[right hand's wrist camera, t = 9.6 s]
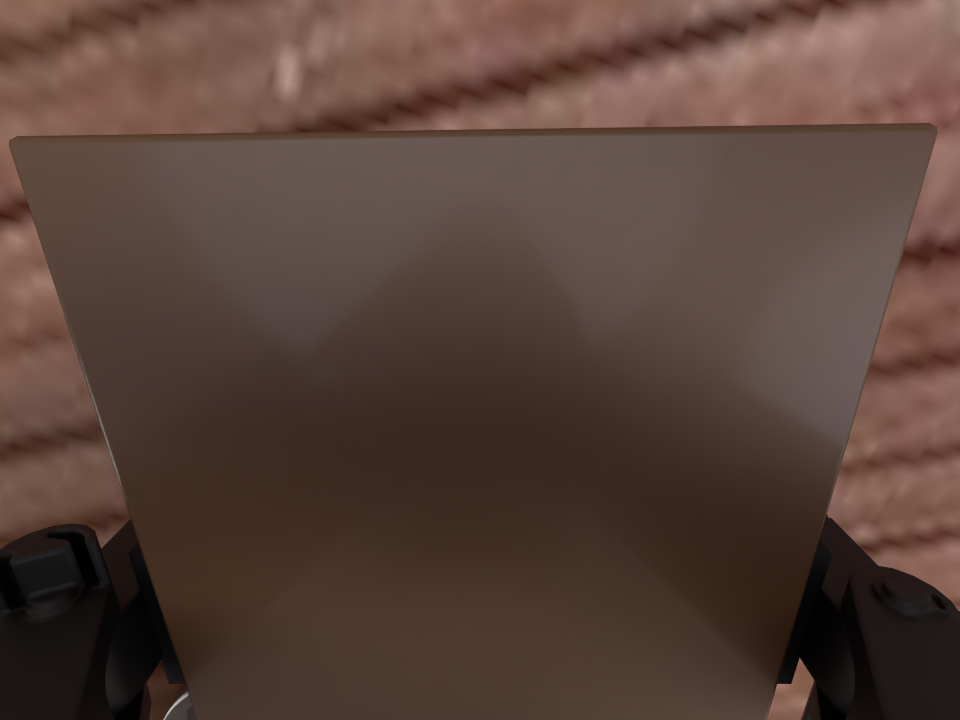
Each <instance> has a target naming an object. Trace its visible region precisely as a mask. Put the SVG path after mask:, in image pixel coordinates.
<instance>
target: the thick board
mask: <svg viewBox="0 0 960 720" xmlns="http://www.w3.org/2000/svg"><path fill="white" fill-rule="evenodd" d="M937 133H938V131H937V127H936V126H934V125H932V124H930V123H903V124H835V125H766V126H697V127H628V128H559V129H491V130H422V131H353V132H284V133H215V134H147V135H78V136H17V137H15V138H13V139H11V140H9V147H10V150H11V153H12V156H13V159H14V162H15V165H16V168H17V171H18V175H19V178H20V181H21V184H22V187H23V190H24V193H25V196H26V199H27V202H28V205H29V208H30V211H31V214H32V217H33V220H34V223H35V227H36V230H37V233H38V236H39V239H40V242H41V245H42V248H43V251H44V254H45V257H46V260H47V263H48V266H49V269H50V272H51V275H52V279H53V282H54V285H55V288H56V291H57V294H58V297H59V300H60V303H61V306H62V309H63V312H64V315H65V318H66V321H67V324H68V328H69V331H70V334H71V337H72V340H73V343H74V346H75V349H76V352H77V355H78V358H79V361H80V364H81V367H82V370H83V373H84V376H85V380H86V383H87V386H88V389H89V392H90V395H91V398H92V401H93V404H94V407H95V410H96V413H97V416H98V419H99V422H100V425H101V428H102V432H103V435H104V438H105V441H106V444H107V447H108V450H109V453H110V456H111V459H112V462H113V465H114V468H115V471H116V474H117V477H118V481H119V484H120V487H121V490H122V493H123V496H124V499H125V502H126V505H127V508H128V511H129V514H130V517H131V520H132V523H133V526H134V529H135V533H136V536H137V539H138V542H139V545H140V548H141V551H142V554H143V557H144V560H145V563H146V566H147V569H148V572H149V575H150V578H151V581H152V585H153V588H154V591H155V594H156V597H157V600H158V603H159V606H160V609H161V612H162V615H163V618H164V621H165V624H166V627H167V630H168V634H169V637H170V640H171V643H172V646H173V649H174V652H175V655H176V658H177V661H178V664H179V667H180V670H181V673H182V676H183V679H184V682H185V686H186V689H187V692H188V695H189V698H190V701H191V704H192V707H193V710H194V713H195V716H196V719H197V720H767V717H768V713H769V710H770V706H771V703H772V700H773V696H774V693H775V689H776V686H777V682H778V679H779V676H780V672H781V669H782V665H783V662H784V658H785V655H786V652H787V648H788V645H789V641H790V638H791V634H792V631H793V627H794V624H795V621H796V617H797V614H798V610H799V607H800V603H801V600H802V597H803V593H804V590H805V586H806V583H807V579H808V576H809V573H810V569H811V566H812V562H813V559H814V555H815V552H816V548H817V545H818V542H819V538H820V535H821V531H822V528H823V524H824V521H825V518H826V514H827V511H828V507H829V504H830V500H831V497H832V494H833V490H834V487H835V483H836V480H837V476H838V473H839V469H840V466H841V463H842V459H843V456H844V452H845V449H846V445H847V442H848V439H849V435H850V432H851V428H852V425H853V421H854V418H855V415H856V411H857V408H858V404H859V401H860V397H861V394H862V390H863V387H864V384H865V380H866V377H867V373H868V370H869V366H870V363H871V360H872V356H873V353H874V349H875V346H876V342H877V339H878V336H879V332H880V329H881V325H882V322H883V318H884V315H885V311H886V308H887V305H888V301H889V298H890V294H891V291H892V287H893V284H894V281H895V277H896V274H897V270H898V267H899V263H900V260H901V257H902V253H903V250H904V246H905V243H906V239H907V236H908V232H909V229H910V226H911V222H912V219H913V215H914V212H915V208H916V205H917V202H918V198H919V195H920V191H921V188H922V184H923V181H924V177H925V174H926V171H927V167H928V164H929V160H930V157H931V153H932V150H933V147H934V143H935V140H936V136H937Z"/></svg>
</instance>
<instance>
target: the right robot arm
mask: <svg viewBox="0 0 960 720" xmlns="http://www.w3.org/2000/svg"><path fill="white" fill-rule="evenodd" d="M799 658H800V659H801V660H802V662H803V663H804V665H805V666H806V668H807V669H808V671H809V673H810V674H811V676H812V677H813V679H814V683H813V686H812V689H811V692H810V695H809V698H808V701H807V704H806V707H805V710H804V713H803V715H802V718H801V720H960V611H958V610H957V608H956V607H955V606H954V604H953V603H952V602H951V601H950V600H949V599H948V598H947V597H946V596H944V595H943V594H942V593H941V592H939V591H938V590H937V589H936V588H934V587H933V586H931V585H929V584H927V583H926V582H924V581H922V580H920V579H918V578H916V577H915V576H913V575H910V574H907V573H904V572H901V571H899V570H896V569H893V568H887V567H881V566H878V565H877V564H876V563H875V562H874V561H873V560H872V559H871V558H870V557H869V556H868V555H867V554H866V553H865V552H864V551H863V550H862V549H861V548H860V547H859V546H858V545H857V544H856V543H855V542H854V541H853V540H852V539H851V538H850V537H849V536H848V535H847V534H846V533H845V532H844V531H843V530H842V529H841V528H840V527H839V526H838V525H837V523H836V522H835V521H834V520H833V519H832V518H828V516H827V514H826V518H825V521H824V524H823V528H822V531H821V535H820V538H819V542H818V545H817V548H816V552H815V555H814V559H813V562H812V566H811V569H810V573H809V576H808V579H807V583H806V586H805V590H804V593H803V597H802V600H801V603H800V607H799V610H798V614H797V617H796V621H795V624H794V627H793V631H792V634H791V638H790V641H789V645H788V648H787V652H786V655H785V658H784V662H783V665H782V669H781V672H780V676H779V679H778V682H777V684H791V683H792V680H793V677H794V673H795V670H796V667H797V664H798V661H799ZM161 659H162V662H163V666H164V669H165V672H166V675H167V678H168V681H169V684H185V682H184V679H183V676H182V673H181V670H180V667H179V664H178V661H177V658H176V655H175V652H174V649H173V646H172V643H171V640H170V637H169V634H168V630H167V627H166V624H165V621H164V618H163V615H162V612H161V609H160V606H159V603H158V600H157V597H156V594H155V591H154V588H153V585H152V581H151V578H150V575H149V572H148V569H147V566H146V563H145V560H144V557H143V554H142V551H141V548H140V545H139V542H138V539H137V536H136V533H135V529H134V526H133V523H132V520H129V521H128V522H127V523H126V524H125V525H124V526H123V527H122V528H121V529H120V530H119V531H118V532H117V534H116V535H115V536H114V537H113V538H112V539H111V540H110V541H109V542H108V543H107V544H106V545H105V546H104V547H103V548H102V549H101V548H100V545H99V542H98V539H97V536H96V533H95V531H94V530H93V529H91V528H90V527H88V526H87V525H80V524H65V525H59V526H52V527H49V528H45V529H42V530H39V531H36V532H33V533H30V534H28V535H26V536H23V537H21V538H19V539H17V540H15V541H13V542H11V543H9V544H7V545H6V546H4V547H3V548H2V549H0V720H149V715H150V707H151V699H150V693H149V689H148V686H147V683H146V682H147V681H148V679H149V678H150V676H151V674H152V673H153V671H154V670H155V668H156V667H157V665H158V664H159V662H160V660H161ZM164 720H197V719H196V716H195V713H194V710H193V707H192V704H191V701H190V698H189V695H188V692H187V689H186V686H185V685H184V686H183V687H182V688H181V690H180V692H179V693H178V695H177V697H176V699H175V700H174V702H173V704H172V706H171V707H170V709H169V711H168V713H167V714H166V716H165V718H164Z"/></svg>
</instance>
